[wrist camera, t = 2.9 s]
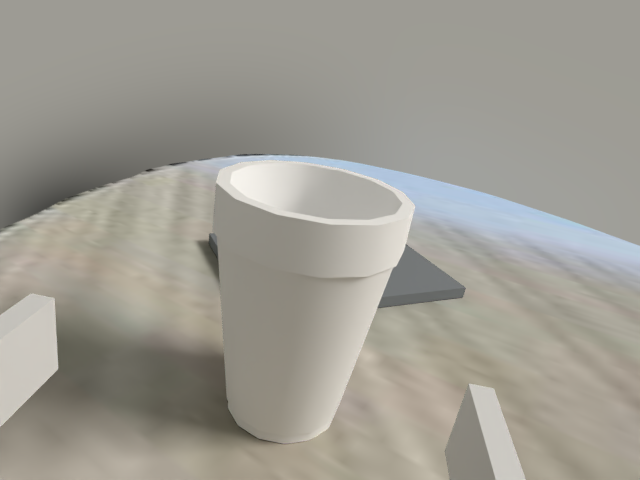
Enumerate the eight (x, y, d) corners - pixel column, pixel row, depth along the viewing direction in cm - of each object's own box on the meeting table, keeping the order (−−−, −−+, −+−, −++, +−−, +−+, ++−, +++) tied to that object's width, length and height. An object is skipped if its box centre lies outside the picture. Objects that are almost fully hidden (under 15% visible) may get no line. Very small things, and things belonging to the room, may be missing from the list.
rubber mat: (381, 235, 55) (383, 227, 54) (462, 297, 44) (465, 287, 43) (208, 243, 46) (209, 233, 45) (254, 322, 35) (256, 311, 34)
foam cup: (162, 404, 26) (171, 174, 21) (266, 334, 33) (291, 153, 29) (306, 503, 22) (359, 245, 17) (388, 397, 29) (441, 198, 24)
